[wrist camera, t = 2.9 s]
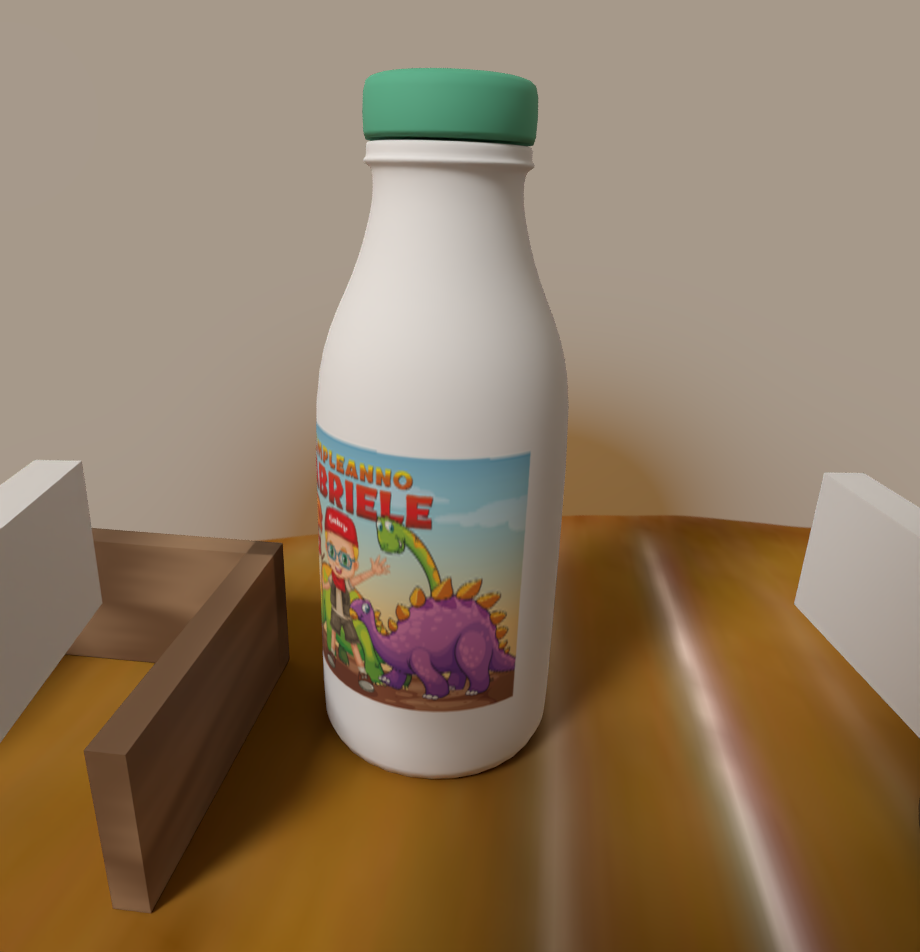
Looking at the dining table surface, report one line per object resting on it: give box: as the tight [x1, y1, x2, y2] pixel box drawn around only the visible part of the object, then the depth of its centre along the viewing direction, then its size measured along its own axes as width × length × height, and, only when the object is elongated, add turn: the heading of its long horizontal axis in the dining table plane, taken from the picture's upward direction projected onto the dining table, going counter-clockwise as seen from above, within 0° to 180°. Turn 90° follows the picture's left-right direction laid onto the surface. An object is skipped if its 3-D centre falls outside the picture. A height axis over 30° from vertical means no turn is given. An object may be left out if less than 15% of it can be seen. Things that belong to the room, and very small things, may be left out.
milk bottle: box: [316, 68, 568, 779], centre depth 23 cm, size 8×8×20 cm
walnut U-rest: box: [65, 528, 289, 913], centre depth 24 cm, size 12×11×5 cm
